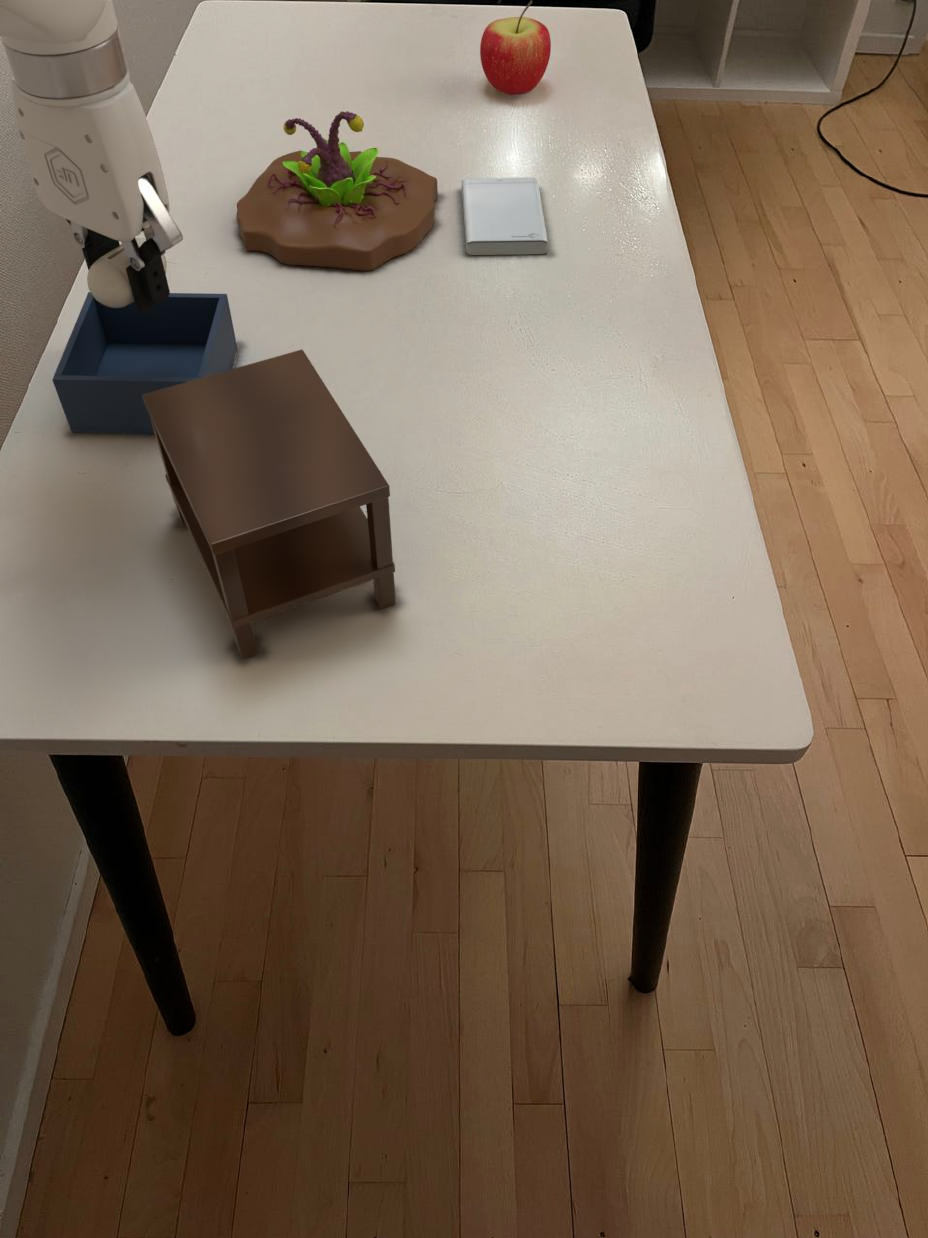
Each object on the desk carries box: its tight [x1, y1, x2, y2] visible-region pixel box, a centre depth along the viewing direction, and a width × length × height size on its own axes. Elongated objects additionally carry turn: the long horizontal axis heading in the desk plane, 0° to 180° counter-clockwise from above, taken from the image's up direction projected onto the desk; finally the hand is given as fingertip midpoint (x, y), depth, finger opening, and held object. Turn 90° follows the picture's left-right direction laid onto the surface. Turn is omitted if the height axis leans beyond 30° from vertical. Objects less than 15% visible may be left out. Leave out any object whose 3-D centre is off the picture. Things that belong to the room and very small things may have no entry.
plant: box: [236, 110, 439, 272], centre depth 107 cm, size 20×20×11 cm
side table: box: [142, 349, 397, 660], centre depth 76 cm, size 12×16×12 cm
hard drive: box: [461, 176, 549, 256], centre depth 110 cm, size 2×8×12 cm
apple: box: [479, 0, 552, 96], centre depth 126 cm, size 8×8×10 cm
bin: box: [51, 291, 238, 435], centre depth 91 cm, size 12×12×6 cm
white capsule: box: [86, 237, 168, 308], centre depth 84 cm, size 7×4×4 cm, turn 146°
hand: (132, 291), depth 86 cm, fingers closed on white capsule, 4 cm apart
